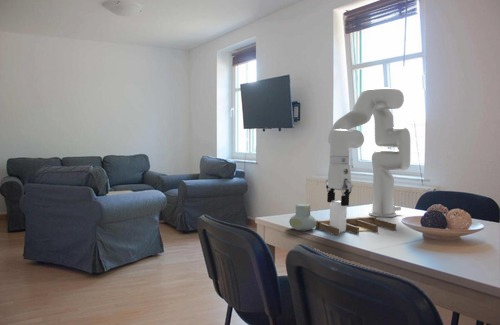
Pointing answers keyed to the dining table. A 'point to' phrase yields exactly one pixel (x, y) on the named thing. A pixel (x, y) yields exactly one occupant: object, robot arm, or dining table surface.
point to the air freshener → (302, 218)
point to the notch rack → (356, 225)
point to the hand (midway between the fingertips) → (337, 203)
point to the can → (338, 215)
